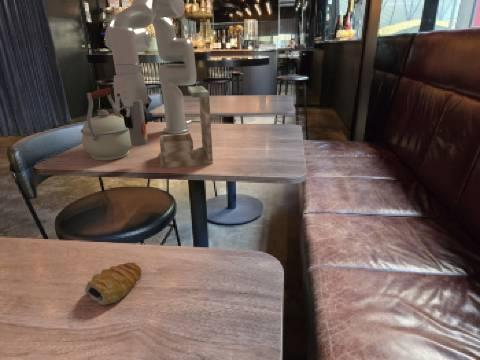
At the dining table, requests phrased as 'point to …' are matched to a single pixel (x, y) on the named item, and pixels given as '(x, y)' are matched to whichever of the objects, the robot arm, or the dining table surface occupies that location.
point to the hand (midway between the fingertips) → (136, 125)
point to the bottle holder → (189, 139)
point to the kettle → (105, 132)
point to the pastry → (113, 283)
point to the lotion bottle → (138, 124)
